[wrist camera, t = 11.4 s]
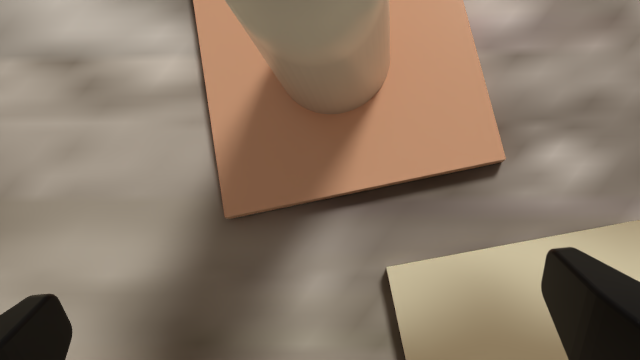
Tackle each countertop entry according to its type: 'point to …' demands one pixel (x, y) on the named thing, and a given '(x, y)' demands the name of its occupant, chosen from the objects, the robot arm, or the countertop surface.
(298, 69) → the spice jar
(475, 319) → the mat
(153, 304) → the countertop surface
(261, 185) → the mat
